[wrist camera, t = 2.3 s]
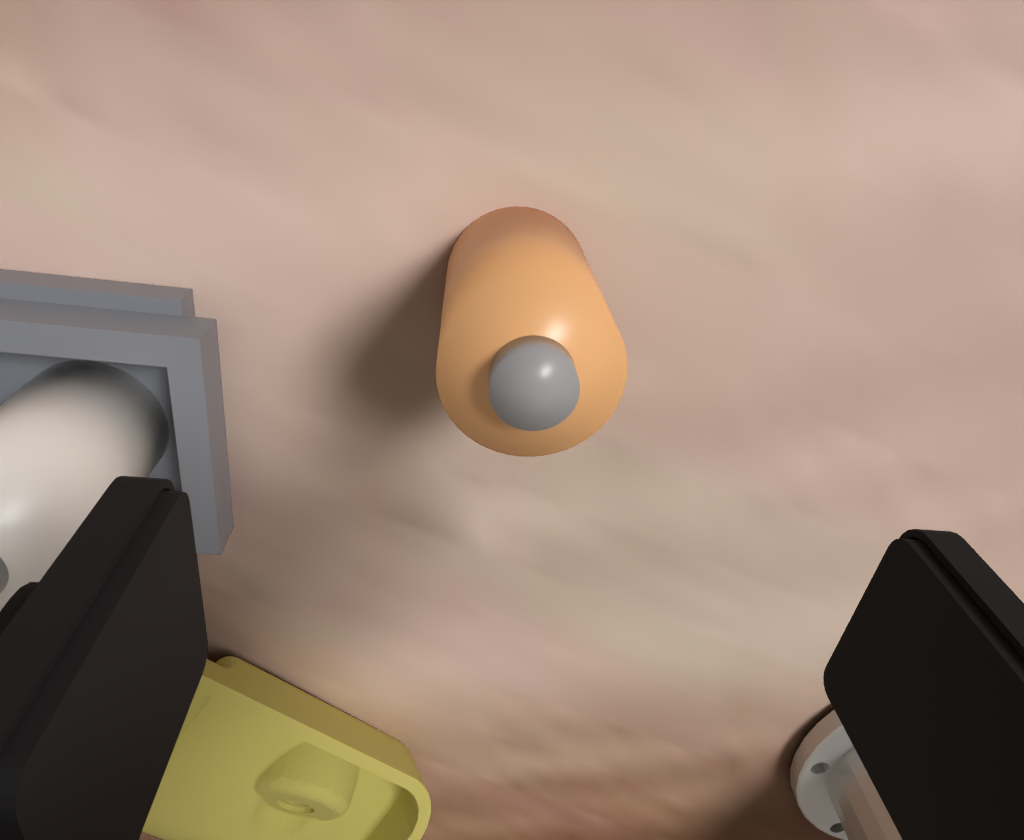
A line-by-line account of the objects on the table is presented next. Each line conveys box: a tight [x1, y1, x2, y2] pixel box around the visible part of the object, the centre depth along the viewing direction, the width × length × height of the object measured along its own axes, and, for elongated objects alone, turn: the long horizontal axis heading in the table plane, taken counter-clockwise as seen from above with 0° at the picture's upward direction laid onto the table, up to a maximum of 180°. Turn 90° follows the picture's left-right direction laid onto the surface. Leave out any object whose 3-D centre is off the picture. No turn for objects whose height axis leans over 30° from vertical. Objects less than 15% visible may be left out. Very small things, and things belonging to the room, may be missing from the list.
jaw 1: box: [436, 207, 628, 456], centre depth 19 cm, size 4×4×8 cm
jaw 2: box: [0, 360, 170, 611], centre depth 20 cm, size 4×4×8 cm
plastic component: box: [142, 656, 431, 840], centre depth 30 cm, size 20×7×10 cm
